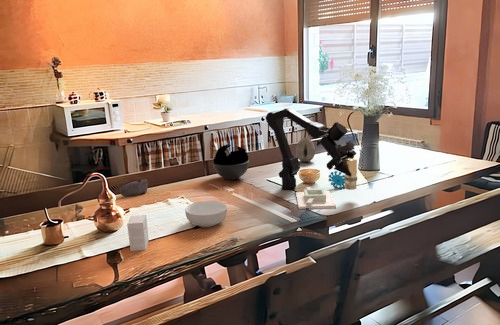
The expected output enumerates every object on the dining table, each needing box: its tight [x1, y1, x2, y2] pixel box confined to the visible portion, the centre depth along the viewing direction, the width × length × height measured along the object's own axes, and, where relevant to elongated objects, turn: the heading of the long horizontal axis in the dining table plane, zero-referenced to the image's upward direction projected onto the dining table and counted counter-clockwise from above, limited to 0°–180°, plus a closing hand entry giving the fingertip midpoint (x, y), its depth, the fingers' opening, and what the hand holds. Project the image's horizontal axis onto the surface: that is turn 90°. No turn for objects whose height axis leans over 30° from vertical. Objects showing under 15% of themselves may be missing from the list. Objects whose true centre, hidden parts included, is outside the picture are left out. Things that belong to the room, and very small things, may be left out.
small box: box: [126, 214, 150, 252], centre depth 156 cm, size 8×6×10 cm
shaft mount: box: [295, 186, 337, 210], centre depth 196 cm, size 16×23×4 cm
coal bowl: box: [212, 144, 250, 180], centre depth 235 cm, size 20×20×19 cm
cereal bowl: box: [184, 200, 228, 228], centre depth 175 cm, size 17×17×7 cm
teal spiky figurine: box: [328, 170, 345, 190], centre depth 216 cm, size 11×6×10 cm
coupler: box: [344, 158, 358, 191], centre depth 193 cm, size 6×6×13 cm
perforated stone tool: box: [119, 178, 149, 197], centre depth 217 cm, size 15×5×7 cm, turn 117°
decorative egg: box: [295, 137, 316, 163], centre depth 265 cm, size 12×12×15 cm
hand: (353, 174), depth 192 cm, fingers closed on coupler, 5 cm apart
